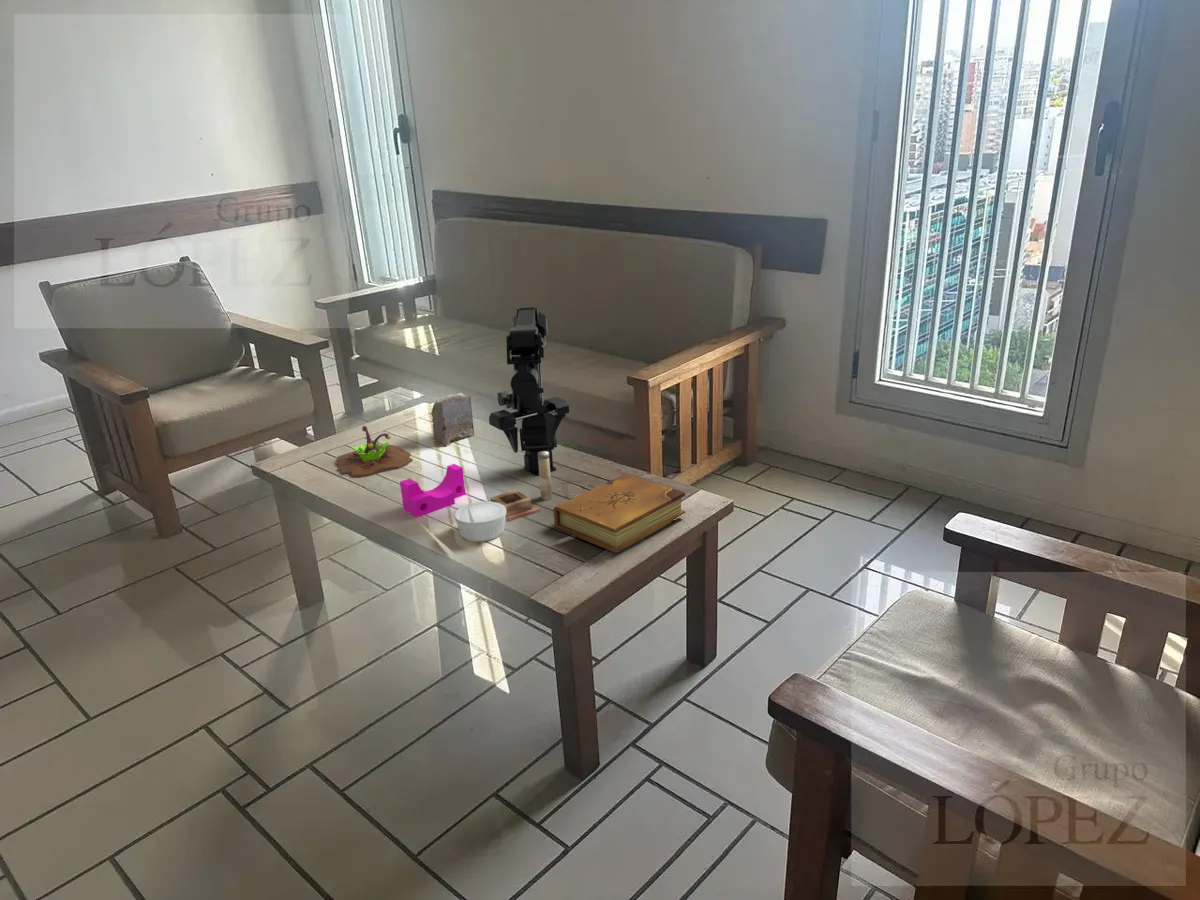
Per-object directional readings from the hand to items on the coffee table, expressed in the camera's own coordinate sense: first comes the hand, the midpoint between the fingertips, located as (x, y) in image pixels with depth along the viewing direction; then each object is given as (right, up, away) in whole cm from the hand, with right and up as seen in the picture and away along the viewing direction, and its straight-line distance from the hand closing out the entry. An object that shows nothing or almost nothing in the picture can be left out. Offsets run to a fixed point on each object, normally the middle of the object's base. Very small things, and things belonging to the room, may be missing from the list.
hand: (532, 447), depth 198 cm
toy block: (-23, -14, +4) cm, 27 cm away
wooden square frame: (-4, -14, -1) cm, 15 cm away
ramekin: (-10, -19, -12) cm, 25 cm away
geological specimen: (-25, +1, +43) cm, 50 cm away
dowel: (+3, -12, +4) cm, 13 cm away
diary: (+20, -17, -9) cm, 28 cm away
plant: (-46, -5, +31) cm, 55 cm away
